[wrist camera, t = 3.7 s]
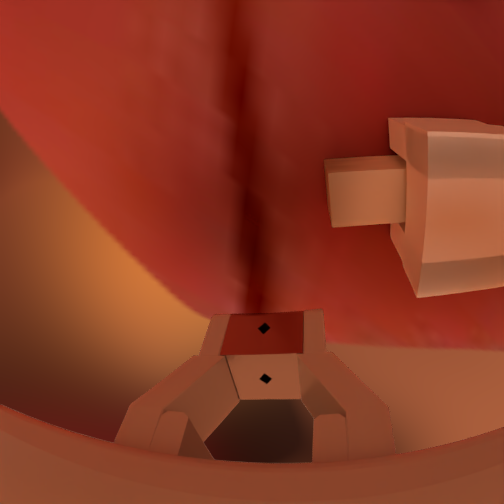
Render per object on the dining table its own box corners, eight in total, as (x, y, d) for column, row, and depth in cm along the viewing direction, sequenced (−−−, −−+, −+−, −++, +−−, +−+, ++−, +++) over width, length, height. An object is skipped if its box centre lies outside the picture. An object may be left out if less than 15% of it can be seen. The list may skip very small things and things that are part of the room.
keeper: (474, 116, 15) (534, 137, 9) (467, 233, 18) (510, 285, 13) (387, 114, 16) (427, 131, 11) (389, 239, 20) (416, 298, 14)
